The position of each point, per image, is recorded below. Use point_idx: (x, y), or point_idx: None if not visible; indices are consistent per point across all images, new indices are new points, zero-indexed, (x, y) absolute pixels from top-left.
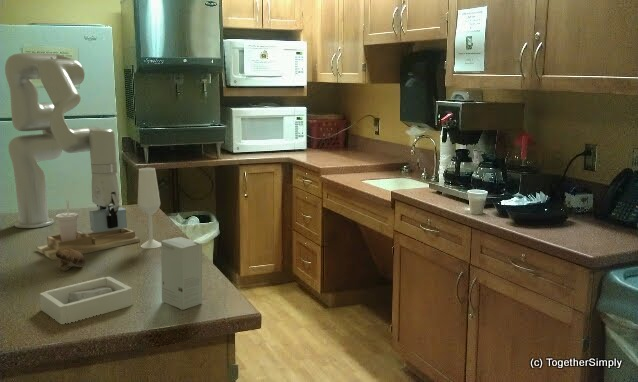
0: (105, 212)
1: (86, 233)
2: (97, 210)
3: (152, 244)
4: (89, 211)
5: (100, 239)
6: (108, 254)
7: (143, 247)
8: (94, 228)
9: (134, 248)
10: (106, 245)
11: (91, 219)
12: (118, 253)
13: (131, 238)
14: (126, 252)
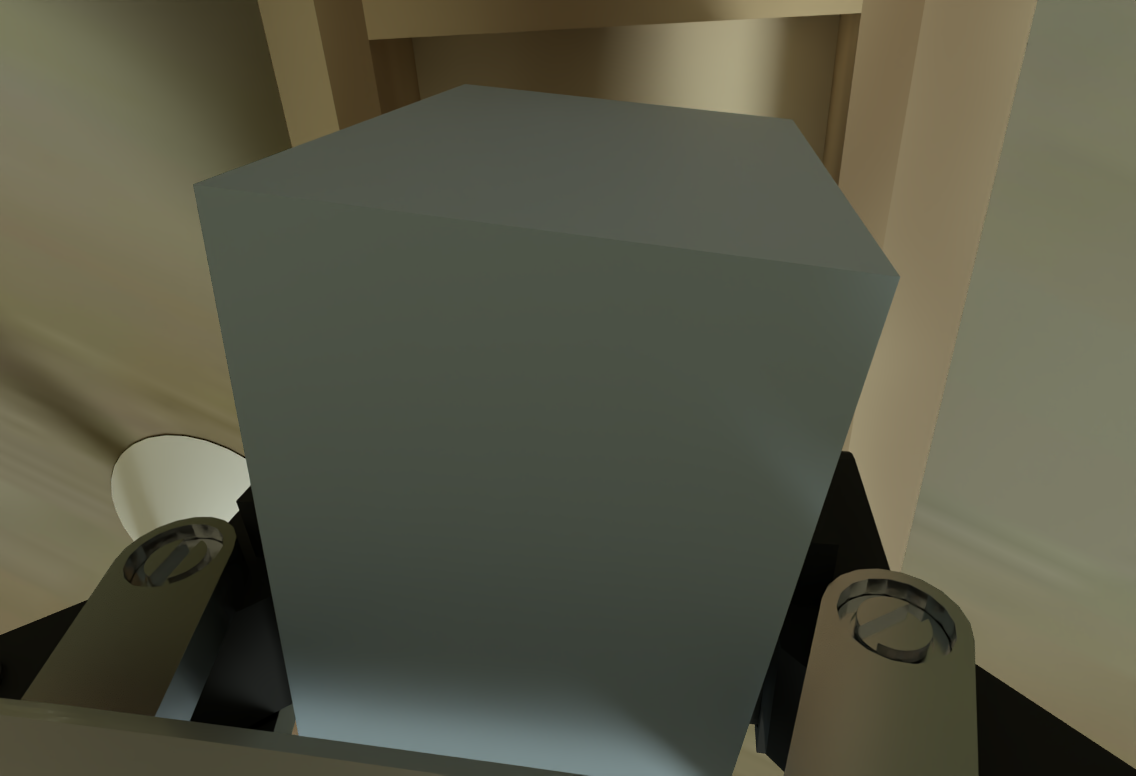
0: (273, 572)
1: (908, 41)
2: (741, 564)
3: (130, 520)
4: (862, 273)
5: (342, 100)
6: (36, 23)
7: (156, 443)
8: (456, 98)
9: (180, 375)
10: (297, 139)
11: (638, 161)
12: (42, 150)
13: None
14: (54, 240)
